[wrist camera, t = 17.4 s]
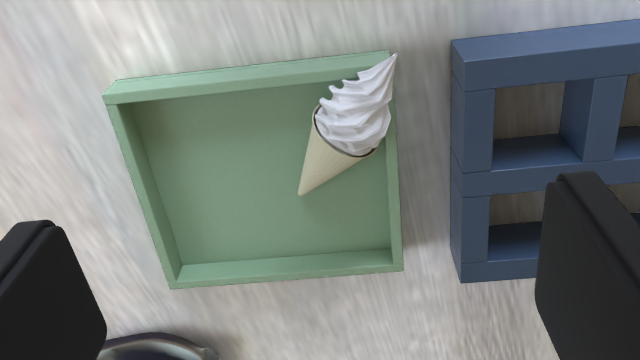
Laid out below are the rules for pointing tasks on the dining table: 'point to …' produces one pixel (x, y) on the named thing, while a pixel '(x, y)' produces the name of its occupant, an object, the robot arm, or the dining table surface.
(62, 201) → the dining table surface
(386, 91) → the ice cream cone
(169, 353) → the avocado toast plate
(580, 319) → the robot arm
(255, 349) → the dining table surface
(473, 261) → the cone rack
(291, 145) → the shallow green box
